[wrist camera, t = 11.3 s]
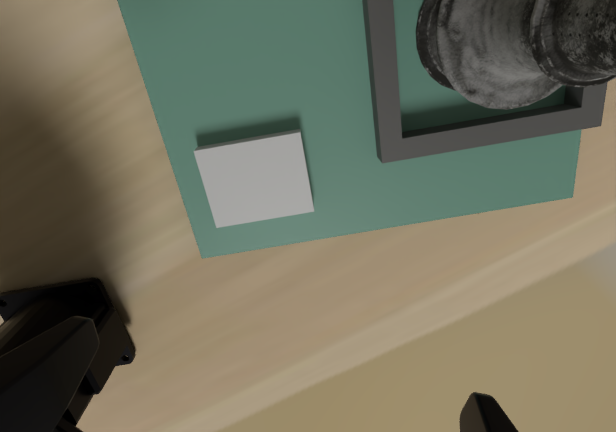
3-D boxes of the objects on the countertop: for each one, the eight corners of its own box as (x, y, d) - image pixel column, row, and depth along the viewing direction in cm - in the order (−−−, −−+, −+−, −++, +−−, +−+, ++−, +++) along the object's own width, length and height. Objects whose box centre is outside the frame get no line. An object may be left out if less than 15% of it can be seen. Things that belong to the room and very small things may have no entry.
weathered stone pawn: (384, 5, 16) (582, -88, 5) (516, -88, 15) (1146, -472, 4) (442, 122, 18) (671, 238, 7) (562, 49, 17) (1055, 52, 6)
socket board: (207, 245, 22) (196, 270, 20) (101, -93, 16) (64, -119, 13) (554, 187, 21) (589, 206, 19) (595, -193, 15) (655, -242, 12)
